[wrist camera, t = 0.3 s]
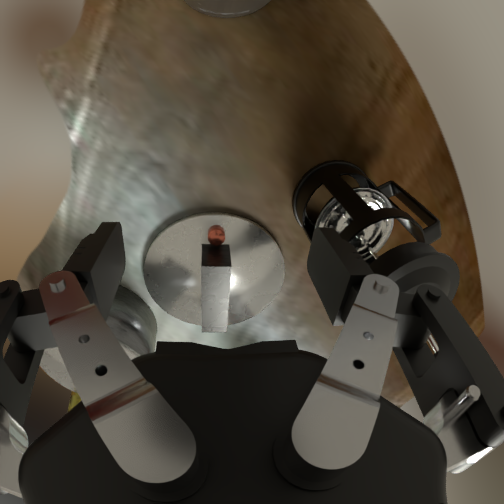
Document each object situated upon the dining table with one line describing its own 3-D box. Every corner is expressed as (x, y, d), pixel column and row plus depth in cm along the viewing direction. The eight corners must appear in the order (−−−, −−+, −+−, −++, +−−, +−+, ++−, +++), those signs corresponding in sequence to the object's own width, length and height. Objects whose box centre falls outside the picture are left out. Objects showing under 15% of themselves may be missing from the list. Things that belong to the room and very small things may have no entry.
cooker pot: (23, 288, 33) (-1, 334, 26) (95, 240, 31) (68, 293, 24) (114, 370, 46) (107, 414, 38) (191, 346, 43) (191, 398, 36)
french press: (305, 250, 36) (380, 433, 17) (272, 187, 30) (359, 396, 12) (389, 207, 33) (510, 354, 15) (369, 139, 28) (542, 276, 9)
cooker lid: (138, 209, 30) (127, 234, 26) (294, 213, 33) (306, 238, 29) (153, 318, 40) (149, 347, 36) (272, 319, 42) (278, 347, 38)
